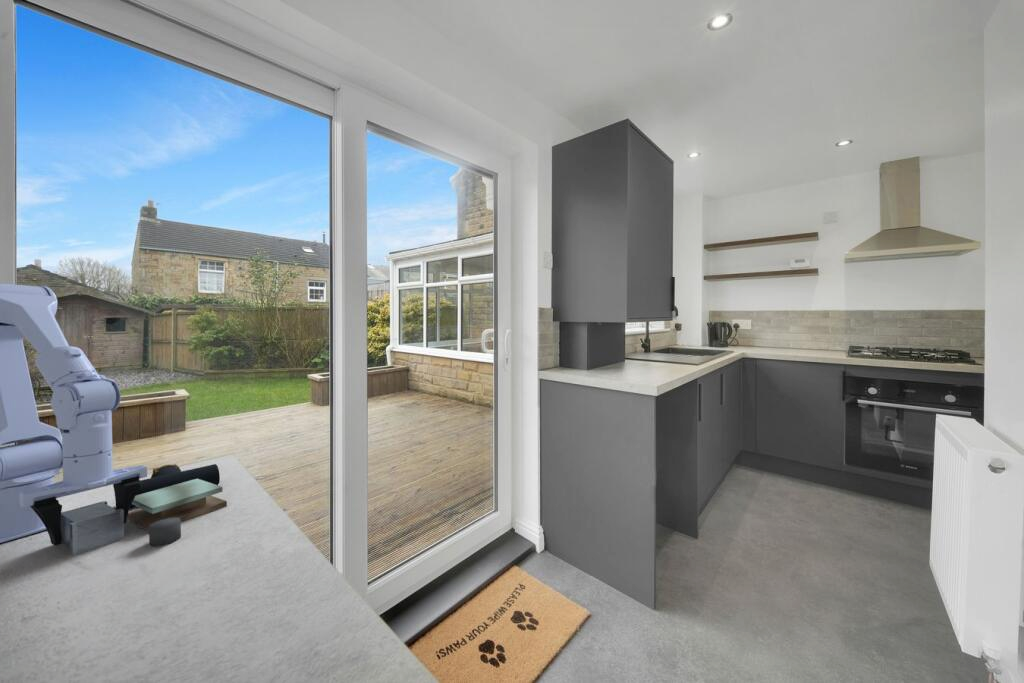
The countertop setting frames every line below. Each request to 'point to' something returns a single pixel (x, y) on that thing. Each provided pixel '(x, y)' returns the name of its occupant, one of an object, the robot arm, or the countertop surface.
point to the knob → (164, 532)
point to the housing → (91, 527)
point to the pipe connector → (178, 477)
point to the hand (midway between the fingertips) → (90, 532)
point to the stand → (176, 503)
